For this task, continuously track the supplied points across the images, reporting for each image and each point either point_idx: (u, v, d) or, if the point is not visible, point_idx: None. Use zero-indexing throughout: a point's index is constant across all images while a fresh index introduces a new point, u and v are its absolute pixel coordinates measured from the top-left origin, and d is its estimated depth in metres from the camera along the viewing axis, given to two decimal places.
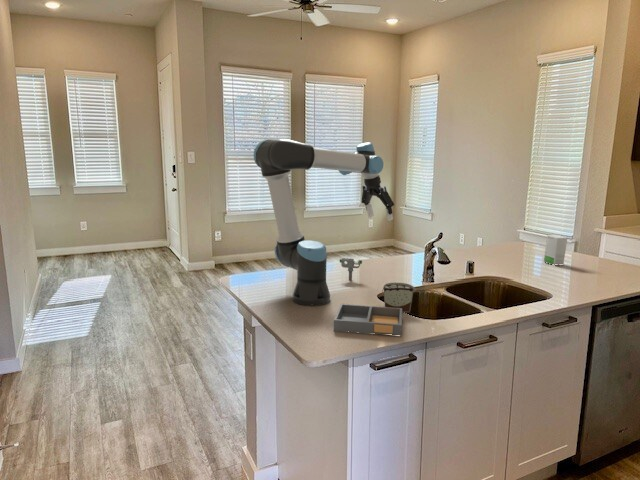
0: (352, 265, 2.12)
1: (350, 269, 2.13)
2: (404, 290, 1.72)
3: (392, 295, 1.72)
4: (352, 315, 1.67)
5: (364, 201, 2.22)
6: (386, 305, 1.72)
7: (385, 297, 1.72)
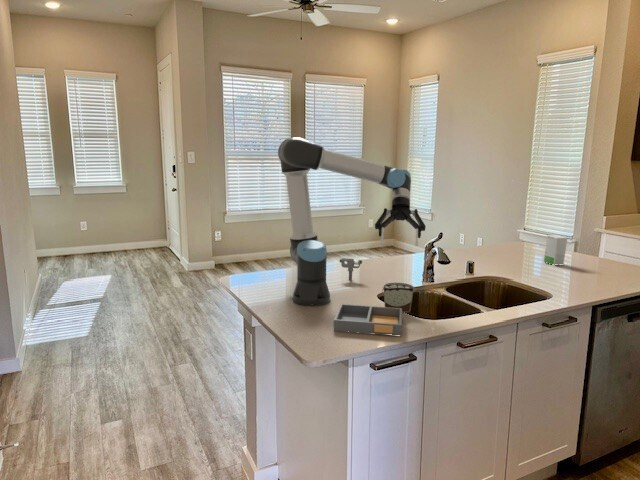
0: (352, 265, 2.12)
1: (350, 269, 2.13)
2: (404, 290, 1.72)
3: (392, 295, 1.72)
4: (352, 315, 1.67)
5: (379, 225, 1.87)
6: (386, 305, 1.72)
7: (385, 297, 1.72)
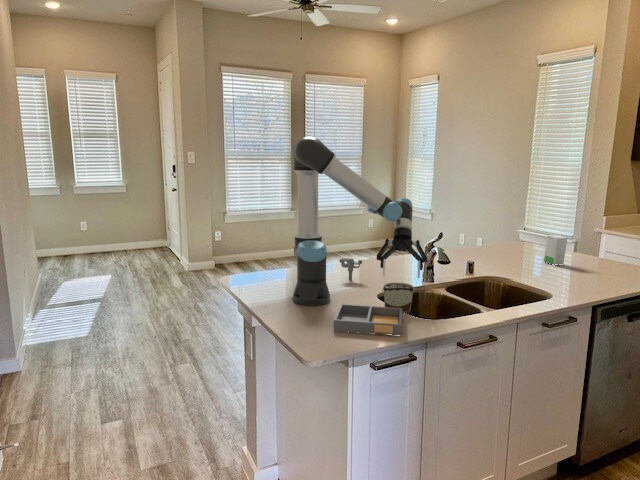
0: (352, 265, 2.12)
1: (350, 269, 2.13)
2: (404, 290, 1.72)
3: (392, 295, 1.72)
4: (352, 315, 1.67)
5: (380, 256, 1.86)
6: (386, 305, 1.72)
7: (385, 297, 1.72)
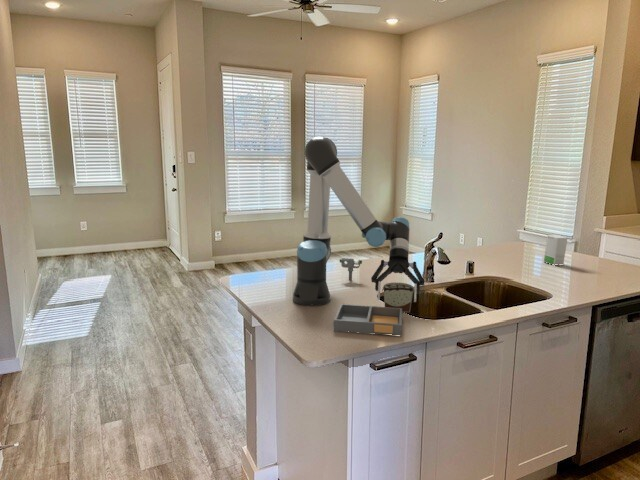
0: (352, 265, 2.12)
1: (350, 269, 2.13)
2: (404, 290, 1.71)
3: (392, 295, 1.72)
4: (352, 315, 1.67)
5: (375, 278, 1.78)
6: (386, 305, 1.72)
7: (385, 297, 1.72)
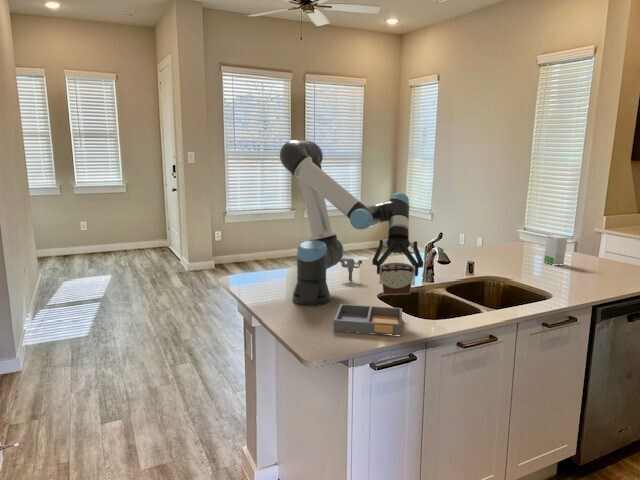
0: (352, 265, 2.12)
1: (350, 269, 2.13)
2: (403, 271, 1.60)
3: (390, 276, 1.60)
4: (352, 315, 1.67)
5: None
6: (384, 287, 1.61)
7: (383, 278, 1.60)
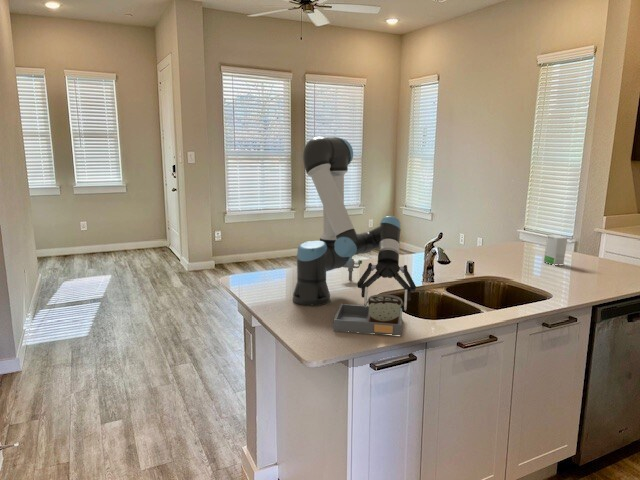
0: (352, 265, 2.12)
1: (350, 269, 2.13)
2: (391, 303, 1.54)
3: (377, 308, 1.54)
4: (352, 315, 1.67)
5: (362, 283, 1.61)
6: (371, 319, 1.55)
7: (370, 311, 1.54)
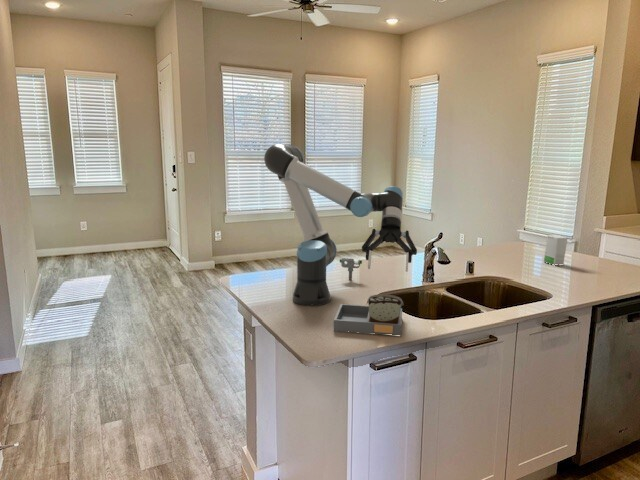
0: (352, 265, 2.12)
1: (350, 269, 2.13)
2: (391, 303, 1.54)
3: (377, 308, 1.54)
4: (352, 315, 1.67)
5: (366, 247, 1.72)
6: (371, 319, 1.55)
7: (370, 311, 1.54)
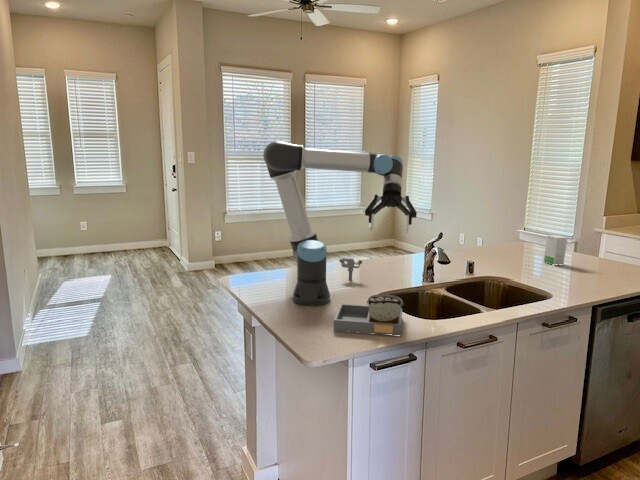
0: (352, 265, 2.12)
1: (350, 269, 2.13)
2: (391, 303, 1.54)
3: (377, 308, 1.54)
4: (352, 315, 1.67)
5: (369, 211, 1.83)
6: (371, 319, 1.55)
7: (370, 311, 1.54)
